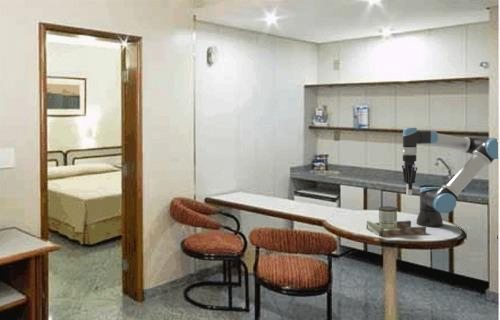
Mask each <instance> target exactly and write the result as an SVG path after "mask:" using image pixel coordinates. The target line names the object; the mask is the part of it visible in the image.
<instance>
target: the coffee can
mask: <svg viewBox="0 0 500 320" xmlns="http://www.w3.org/2000/svg"><path fill="white" fill-rule="evenodd" d="M397 221H398V208H397V207H395V206H388V205H386V206H380V207H378V223H379V226H382V227H384V229H393V228H397Z"/></svg>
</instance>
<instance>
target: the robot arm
mask: <svg viewBox="0 0 500 320" xmlns="http://www.w3.org/2000/svg"><path fill="white" fill-rule="evenodd" d="M497 139H498V138H497V137H496V138H495V137H483V136H482V137H474V136H473V137H472V136H471V137H470V136H465V137H462V136H461V137H460V136H454V135H449V134H443V133H438V132H437V130H423V129H421V130H420V129H419V130H418V128H417V127H404V128H403V131H402V161H403V165H401V168H402V174H403V183H405V185H406V189H405V190H406V191H405V192H406V193H405V194H406V196H412V195H413V184H415V183H416V176H417V171H418V167H416V164H415V162H417V154H418V153H417V151H418V150H417V145H420V144H421V145H423V144H424V145H429V146H434V147H441V148H446V149H447V148H448V149H451V150H452V149H454V150H458V151H461V152H463V153H465V154H466V153H467V154H470V155H471V157H470V158H469V159H468V160H467V161H466V162H465V164H463V166H462V167H461V168H460V169H459V170H458V171H457V172H456V173H455V175H454V176H453V177H452V178H451V179H450V180H449V181H448V183H446V184H445V185H441V186H440V187H439V186H438V187H437V186H429V187H428V186H427V187H425V186H423V187H421V188H420V190H419V212H418V215H417V218H416V224H417V225H418V226H421V227H423V226H424V227H430V228H431V227H432V228H433V227H435V228H436V227H442V226H443V224H444V222H443V221H444V220H443V218H442V215H441V213H442V214H448V213H451V212H452V211H454V210H455V208H456V206H457V202H458V200H459V195H460V193H461V192H462V191H463V190H464V189H465V188H466V187H467V186H468V185H469V184H470V183H471V182H472V180H473V179H474V178H475V177H476V176H477V175H478V174H479V173H480V171H481V170H483V168H484V167H485V166H486V165H491V164H492V163H493V161H494V160H498V159H499V158H498V142H497Z"/></svg>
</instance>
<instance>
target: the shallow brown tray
mask: <svg viewBox="0 0 500 320" xmlns="http://www.w3.org/2000/svg"><path fill="white" fill-rule="evenodd" d="M367 229H368V230H367ZM366 230H367V231H369V230H370V231H369V232H371V231H372V232H371V233H373V232H374V233H376V234H377V235H376V234H375V235H376V236H378V235H379V237H380V236H381V237H391V236H392V237H394V236H405V235H406V236H407V235H409V236H410V235H421V234H423V235H424V234H426V232H427V231H426V230H427V226H413V227H412V221H411V220H397V228H393V229H384V227H382V226H379V222H373V221H371V220H366ZM374 233H373V234H374Z"/></svg>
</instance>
